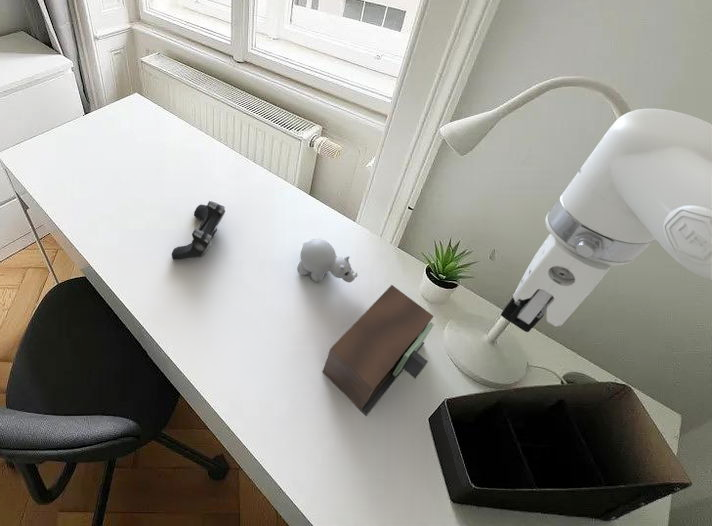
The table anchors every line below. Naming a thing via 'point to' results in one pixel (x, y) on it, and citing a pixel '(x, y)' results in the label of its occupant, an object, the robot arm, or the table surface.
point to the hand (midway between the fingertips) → (515, 319)
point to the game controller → (201, 231)
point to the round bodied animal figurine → (324, 261)
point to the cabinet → (375, 348)
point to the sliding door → (414, 356)
